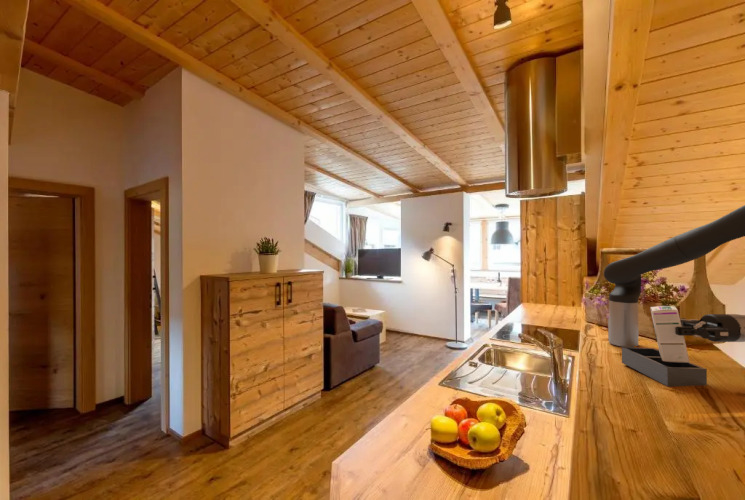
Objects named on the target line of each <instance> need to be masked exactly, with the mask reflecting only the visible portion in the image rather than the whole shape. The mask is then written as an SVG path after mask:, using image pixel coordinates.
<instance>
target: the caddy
mask: <svg viewBox="0 0 745 500" xmlns="http://www.w3.org/2000/svg"><path fill="white" fill-rule="evenodd" d="M621 363H622V364H623V365H626V366H628V367H630V368H631V369H633V370H636V371H638V372H639V373H640V374H643V375H644V376H646V377H648V378H651V379H652V380H654V381H656V382H659V383H660V384H661V385H663V386H666V387H693V386H696V387H697V386H699V387H700V386H708V382H707V381H708V380H707V379H708V372H707V371H708V370H707V368H705V367H702V366H699V365H697V364H694V363H692V362H690V361H689V363H688V362H666V361H662V358H661V356H660V352H659V349H657V348H654V347H622V346H621Z"/></svg>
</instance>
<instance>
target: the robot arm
mask: <svg viewBox="0 0 745 500" xmlns="http://www.w3.org/2000/svg"><path fill="white" fill-rule="evenodd" d="M744 237H745V204H744V205H742V206H740V207H738V208H737V209H735V210H732V211H730V212H729V213H727V214H725V215H723V216H722V217H719V218H718V219H715V220H713V221H711V222H709V223H707V224H704V225H700V226H698V227H695V228H692V229H690V230H688V231H686V232H683V233H680V234H678V235H676V236H673V237H671V238H669V239H666V240H664V241H662V242H660V243H657V244H655V245H653V246H651V247H649V248H647V249H645V250H643V251H641V252H638V253H637V254H634V255H631V256H628V257H625V258H621V259H619V260H616V261H612V262H610V263H609V264H607V266H606V267H605V268H604V270H603V277H604V278H605V280H606V281H607V282H608V283H611V284H614V288H613V290H612V291H611V292H609V294H608V319H607V326H608V327H607V329H608V330H607V331H608V332H607V333H608V334H607V341H608V343H609V344H611V345H614V346H618V347H621V348H622V347H631V348H635V347H634V346H638V347H639V299H640V296H641V293H642V292H641V291H642V275H643V274H646V273H649V272H653V271H658V270H663V269H664V270H665V269H667V268H672V267H677V266H680V265H684V264H686V263H688V262H689V263H690V262H691V261H694V260H697V259H699V258H702V257H704V256H706V255H708V254H709V253H711V252H712V251H714V250H716V249H717V248H719V247H721V246H723V245H725V244H726V243H729V242H731V241H735V240H737V239H741V238H744ZM680 321H681V326H682V327H676V328H675V330H676V335H680V336H684V337H686V336H687V337H688V336H692V337H695V338H702V339H705V340H708V341H711V342H715V343H726V342H727V343H745V314H736V313H735V314H734V313H729V314H728V313H727V314H726V313H723V314H722V313H720V314H719V313H715V314H714V313H709V314H705V315H703V316H701V318H700V319H696V318H695V319H694V318H693V319H686V318H685V317H684V318H680ZM652 327H653V328H654V324H653V323H652Z"/></svg>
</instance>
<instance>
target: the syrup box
mask: <svg viewBox="0 0 745 500" xmlns="http://www.w3.org/2000/svg"><path fill="white" fill-rule="evenodd" d="M650 313H651V314H650V315H651V319H652V325H653V324H654V327H653V328H654V332H655V337H656V341H657V346H658V347H657V348H658V350H659V352H660V356H661V358H662V361H666V362H688V363H689V362H690V359H689V358H690V357H689V353H688V349H687V344H686V343H687V342H686V340H685V336H680V335H676V330H675V328H676V327H682V326H681V321H680V313H679V310H678V308H677V307H676V306H675V305H657V306H650Z"/></svg>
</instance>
